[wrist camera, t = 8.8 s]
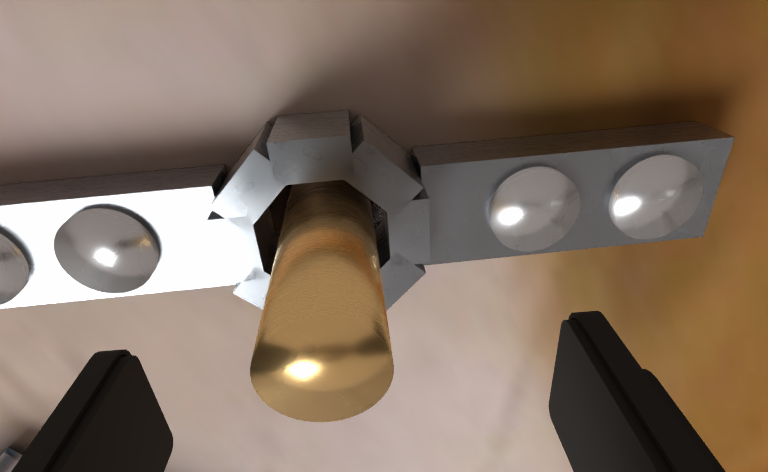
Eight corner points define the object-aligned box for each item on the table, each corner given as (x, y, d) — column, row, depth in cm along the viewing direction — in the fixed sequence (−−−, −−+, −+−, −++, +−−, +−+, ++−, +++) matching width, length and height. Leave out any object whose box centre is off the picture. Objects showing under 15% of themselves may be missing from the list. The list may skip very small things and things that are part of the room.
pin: (366, 160, 18) (389, 310, 10) (373, 234, 19) (397, 413, 11) (282, 168, 17) (235, 326, 10) (295, 241, 19) (265, 429, 11)
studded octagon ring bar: (707, 78, 17) (774, 97, 14) (662, 245, 21) (709, 284, 18) (-111, 150, 16) (-200, 184, 13) (-9, 314, 19) (-63, 367, 17)
